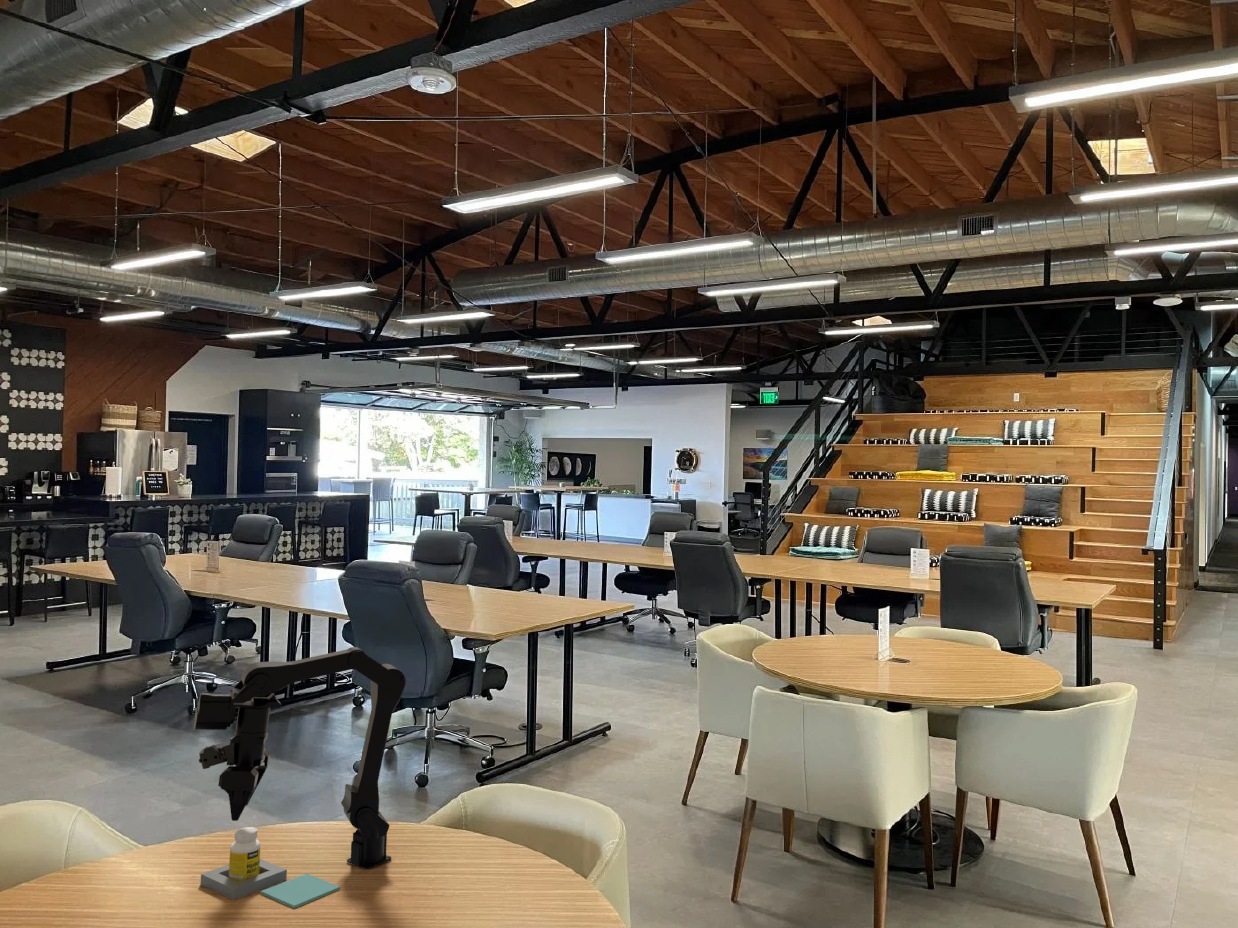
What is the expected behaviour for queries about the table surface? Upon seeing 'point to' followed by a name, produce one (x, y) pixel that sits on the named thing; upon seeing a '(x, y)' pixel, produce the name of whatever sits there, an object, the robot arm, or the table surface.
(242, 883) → the socket block
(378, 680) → the robot arm
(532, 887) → the table surface
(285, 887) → the mat
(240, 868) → the supplement bottle
